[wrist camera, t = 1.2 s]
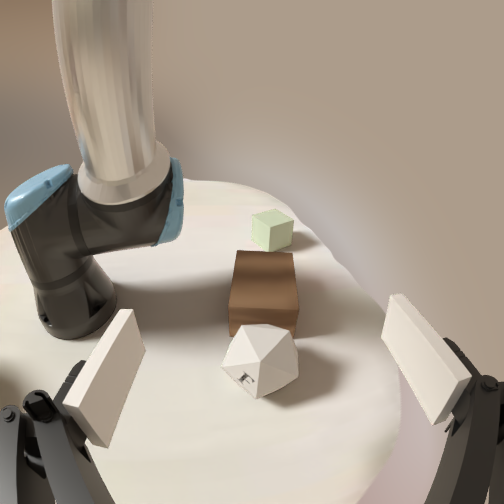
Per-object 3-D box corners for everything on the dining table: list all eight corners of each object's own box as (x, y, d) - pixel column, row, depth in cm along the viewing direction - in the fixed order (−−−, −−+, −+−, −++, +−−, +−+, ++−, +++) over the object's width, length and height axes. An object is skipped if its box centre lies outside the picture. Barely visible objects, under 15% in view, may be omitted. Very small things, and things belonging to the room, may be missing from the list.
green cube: (251, 240, 61) (252, 215, 58) (273, 233, 64) (275, 208, 61) (268, 253, 57) (270, 227, 54) (291, 245, 60) (294, 219, 56)
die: (217, 359, 36) (198, 363, 27) (262, 313, 38) (260, 300, 29) (263, 402, 34) (260, 419, 25) (309, 354, 36) (322, 356, 26)
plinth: (293, 339, 39) (298, 309, 36) (229, 336, 39) (228, 306, 36) (288, 281, 50) (292, 252, 46) (237, 278, 50) (237, 250, 47)
